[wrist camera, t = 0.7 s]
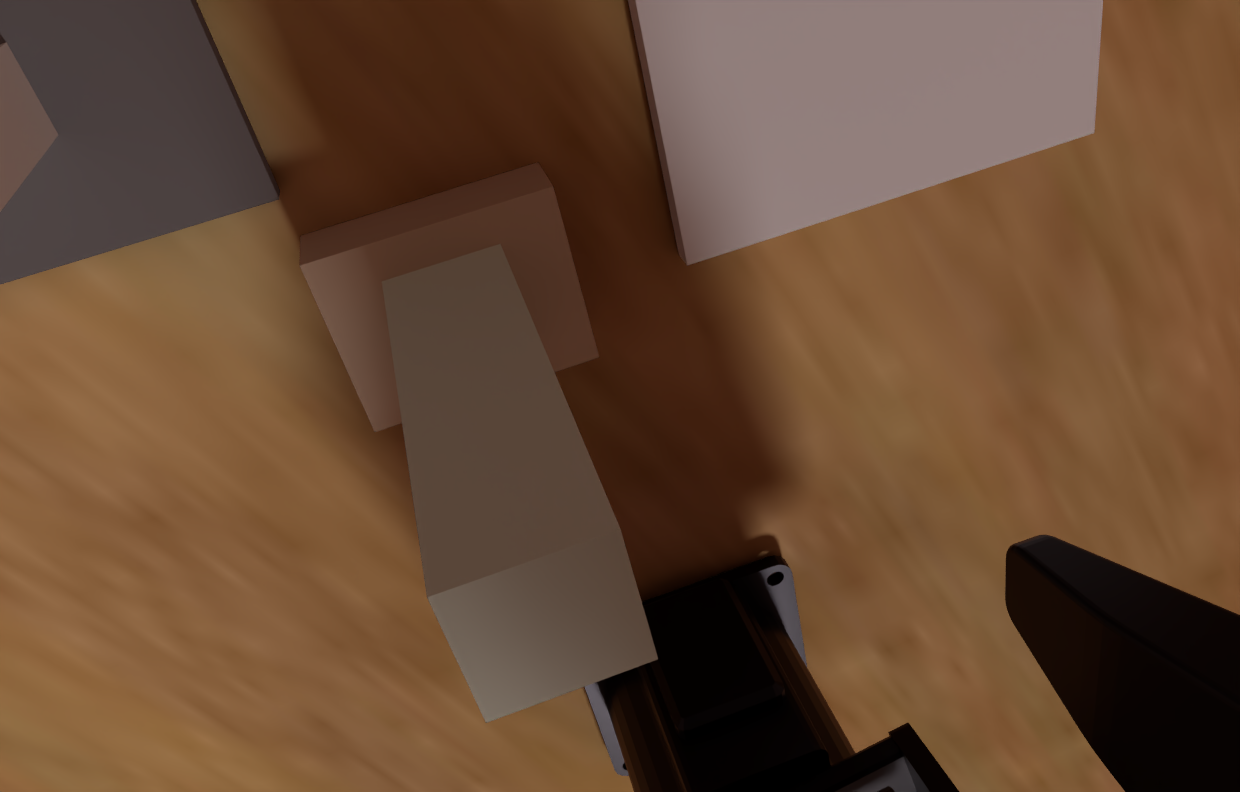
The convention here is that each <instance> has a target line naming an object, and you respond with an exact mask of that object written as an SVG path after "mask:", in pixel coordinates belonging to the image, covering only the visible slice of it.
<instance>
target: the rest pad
mask: <svg viewBox="0 0 1240 792" xmlns="http://www.w3.org/2000/svg"><path fill="white" fill-rule="evenodd" d="M628 3H629V8H630V13H631V18H632V23H633V28H634V33H635V38H636V43H637V48H638V53H639V58H640V63H641V68H642V73H643V78H644V83H645V88H646V93H647V98H648V103H649V108H650V113H651V118H652V123H653V128H654V133H655V138H656V143H657V148H658V153H659V158H660V163H661V168H662V173H663V178H664V183H665V188H666V193H667V198H668V203H669V208H670V213H671V218H672V223H673V228H674V233H675V238H676V243H677V248H678V253H679V256H680V257H681V258H682V259H683V261H684V262H685V263H686V264H687V266H688V265H691V264H694V263H697V262H700V261H703V260H706V259H709V258H712V257H715V256H718V255H721V254H725V253H728V252H731V251H734V250H737V249H740V248H743V247H746V246H749V245H752V244H755V243H758V242H761V241H764V240H767V239H771V238H774V237H777V236H780V235H783V234H786V233H789V232H792V231H795V230H798V229H801V228H804V227H807V226H810V225H813V224H817V223H820V222H823V221H826V220H829V219H832V218H835V217H838V216H841V215H844V214H847V213H850V212H853V211H856V210H859V209H863V208H866V207H869V206H872V205H875V204H878V203H881V202H884V201H887V200H890V199H893V198H896V197H899V196H902V195H905V194H908V193H912V192H915V191H918V190H921V189H924V188H927V187H930V186H933V185H936V184H939V183H942V182H945V181H948V180H951V179H954V178H958V177H961V176H964V175H967V174H970V173H973V172H976V171H979V170H982V169H985V168H988V167H991V166H994V165H997V164H1000V163H1004V162H1007V161H1010V160H1013V159H1016V158H1019V157H1022V156H1025V155H1028V154H1031V153H1034V152H1037V151H1040V150H1043V149H1046V148H1050V147H1053V146H1056V145H1059V144H1062V143H1065V142H1068V141H1071V140H1074V139H1077V138H1080V137H1083V136H1086V135H1089V134H1092V133H1094V128H1095V113H1096V98H1097V83H1098V68H1099V53H1100V38H1101V23H1102V8H1103V0H628Z"/></svg>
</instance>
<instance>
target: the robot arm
mask: <svg viewBox="0 0 1240 792" xmlns="http://www.w3.org/2000/svg"><path fill="white" fill-rule="evenodd" d="M774 572H776V573H775V574H773V575H772V576H770V574H772V573H774ZM1005 600H1006V606H1007V610H1008V613H1009V616H1010V618H1011V620H1012V622H1013V624H1014V625H1015V627H1016V628H1017V630H1018V632H1019V633H1020V635H1021V636H1022V638H1023V640H1024V641H1025V643H1026V644H1027V646H1028V648H1029V649H1030V651H1031V652H1032V654H1033V656H1034V657H1035V659H1036V660H1037V662H1038V664H1039V665H1040V667H1041V668H1042V670H1043V672H1044V673H1045V675H1046V676H1047V678H1048V680H1049V681H1050V683H1051V685H1052V686H1053V688H1054V689H1055V691H1056V693H1057V694H1058V696H1059V697H1060V699H1061V701H1062V702H1063V704H1064V705H1065V707H1066V709H1067V710H1068V712H1069V713H1070V715H1071V717H1072V718H1073V720H1074V721H1075V723H1076V725H1077V726H1078V728H1079V729H1080V731H1081V732H1082V734H1083V735H1084V737H1085V738H1086V740H1087V741H1088V743H1089V744H1090V746H1091V747H1092V749H1093V750H1094V751H1095V753H1096V754H1097V755H1098V757H1099V758H1100V759H1101V761H1102V762H1103V763H1104V765H1105V766H1106V768H1107V769H1108V770H1109V771H1110V773H1111V774H1112V775H1113V776H1114V778H1115V779H1116V780H1117V782H1118V783H1119V784H1120V785H1121V787H1122V788H1123V789H1124V791H1125V792H1240V615H1238V614H1236V613H1234V612H1231V611H1229V610H1226V609H1224V608H1222V607H1219V606H1217V605H1215V604H1212V603H1210V602H1207V601H1205V600H1203V599H1200V598H1198V597H1196V596H1193V595H1191V594H1188V593H1186V592H1184V591H1181V590H1179V589H1177V588H1174V587H1172V586H1170V585H1167V584H1165V583H1162V582H1160V581H1158V580H1155V579H1153V578H1151V577H1148V576H1146V575H1143V574H1141V573H1139V572H1136V571H1134V570H1132V569H1129V568H1127V567H1124V566H1122V565H1120V564H1117V563H1115V562H1113V561H1110V560H1108V559H1105V558H1103V557H1101V556H1098V555H1096V554H1094V553H1091V552H1089V551H1086V550H1084V549H1082V548H1079V547H1077V546H1075V545H1072V544H1070V543H1067V542H1065V541H1063V540H1060V539H1058V538H1056V537H1053V536H1049V535H1038V536H1035V537H1032V538H1029V539H1027V540H1024V541H1021V542H1018V543H1015V544H1013V545H1011V546H1010V547H1009V549H1008V551H1007V554H1006V589H1005ZM642 605H643V608H644V612H645V615H646V619H647V622H648V625H649V629H650V632H651V636H652V639H653V643H654V646H655V650H656V653H657V656H658V660H655V661H652V662H649V663H647V664H644V665H641V666H639V667H636V668H633V669H631V670H628V671H625V672H622V673H620V674H617V675H614V676H612V677H609V678H606V679H603V680H601V681H598V682H595V683H593V684H590V685H587V686H585V690H586V692H587V695H588V698H589V701H590V703H591V706H592V709H593V711H594V714H595V717H596V720H597V722H598V725H599V728H600V731H601V733H602V736H603V739H604V742H605V744H606V747H607V750H608V753H609V755H610V758H611V761H612V763H613V766H614V769H615V771H616V772H617V774H619V775H622V776H629V777H630V780H631V783H632V787H633V790H634V792H959V791H958V789H957V788H956V787H955V785H954V784H953V783H952V781H951V780H950V778H949V777H948V776H947V774H946V773H945V772H944V770H943V769H942V768H941V766H940V765H939V764H938V762H937V761H936V759H935V758H934V757H933V755H932V754H931V753H930V751H929V750H928V749H927V747H926V746H925V744H924V743H923V742H922V740H921V739H920V738H919V736H918V735H917V734H916V732H915V731H914V730H913V728H912V727H911V725H910V724H909V723H906V724H904V725H902V726H900V727H898V728H896V729H894V730H892V731H890V732H888V733H889V737H887V738H885V739H883V740H881V741H879V742H877V743H875V744H873V745H871V746H869V747H867V748H865V749H863V750H861V751H859V752H858V753H855V751H854V750H853V748H852V746H851V744H850V743H849V741H848V739H847V737H846V736H845V734H844V732H843V730H842V728H841V727H840V725H839V723H838V721H837V720H836V718H835V716H834V714H833V713H832V711H831V709H830V707H829V706H828V704H827V702H826V700H825V698H824V697H823V695H822V693H821V691H820V690H819V688H818V686H817V684H816V683H815V681H814V679H813V677H812V676H811V674H810V672H809V670H808V669H807V664H806V657H805V651H804V645H803V639H802V632H801V626H800V620H799V613H798V607H797V601H796V595H795V588H794V582H793V576H792V572H791V569H790V568H789V566H788V564H787V563H786V561H785V559H783V558H782V557H780V556H769V557H766V558H763V559H760V560H758V561H755V562H752V563H749V564H747V565H744V566H741V567H738V568H736V569H733V570H730V571H727V572H724V573H722V574H719V575H716V576H713V577H711V578H708V579H705V580H702V581H700V582H697V583H694V584H691V585H689V586H686V587H683V588H680V589H678V590H675V591H672V592H669V593H666V594H664V595H661V596H658V597H655V598H653V599H650V600H647V601H644V602H642Z"/></svg>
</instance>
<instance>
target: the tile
mask: <svg viewBox="0 0 1240 792" xmlns="http://www.w3.org/2000/svg"><path fill="white" fill-rule="evenodd" d="M57 136H58V133H57V131H56V130H55V128H54V126H53V124H52V123H51V121H50V119H49V117H48V115H47V114H46V112H45V110H44V108H43V107H42V105H41V103H40V101H39V99H38V98H37V96H36V94H35V92H34V90H33V89H32V87H31V85H30V83H29V82H28V80H27V78H26V76H25V74H24V73H23V71H22V69H21V67H20V66H19V64H18V62H17V60H16V58H15V57H14V55H13V53H12V51H11V50H10V48H9V46H8V44H7V42H6V43H2V44H0V212H1V210H2V209H3V208H4V207H5V205H6V204H7V203H8V201H9V200H10V199H11V197H12V196H13V195H14V193H15V192H16V191H17V189H18V188H19V187H20V185H21V184H22V183H23V181H24V180H25V179H26V177H27V176H28V175H29V173H30V172H31V171H32V169H33V168H34V167H35V165H36V164H37V163H38V161H39V160H40V159H41V158H42V156H43V155H44V154H45V152H46V151H47V150H48V148H49V147H50V146H51V144H52V143H53V142H54V140H55V139H56V138H57Z"/></svg>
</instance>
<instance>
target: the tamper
mask: <svg viewBox="0 0 1240 792" xmlns="http://www.w3.org/2000/svg"><path fill="white" fill-rule="evenodd" d="M300 268H301V270H302V272H303V274H304V277H305V279H306V281H307V283H308V286H309V288H310V290H311V292H312V294H313V297H314V299H315V301H316V303H317V305H318V308H319V310H320V312H321V314H322V316H323V319H324V321H325V323H326V325H327V328H328V330H329V332H330V334H331V336H332V339H333V341H334V343H335V345H336V347H337V350H338V352H339V354H340V356H341V359H342V361H343V363H344V365H345V367H346V370H347V372H348V374H349V376H350V378H351V381H352V383H353V385H354V387H355V390H356V392H357V394H358V396H359V398H360V401H361V403H362V405H363V407H364V409H365V412H366V414H367V416H368V418H369V420H370V423H371V425H372V427H373V429H374V432H377V431H380V430H383V429H386V428H389V427H392V426H395V425H398V424H401V423H402V426H403V433H404V440H405V447H406V454H407V461H408V468H409V475H410V482H411V489H412V496H413V503H414V510H415V517H416V524H417V531H418V538H419V545H420V552H421V558H422V565H423V572H424V579H425V586H426V593H427V598H428V600H429V602H430V605H431V607H432V609H433V611H434V613H435V615H436V617H437V619H438V622H439V624H440V626H441V628H442V630H443V632H444V634H445V636H446V639H447V641H448V643H449V645H450V647H451V649H452V651H453V653H454V656H455V658H456V660H457V662H458V664H459V666H460V668H461V670H462V673H463V675H464V677H465V679H466V681H467V683H468V685H469V687H470V690H471V692H472V694H473V696H474V698H475V700H476V702H477V704H478V707H479V709H480V711H481V713H482V715H483V717H484V719H485V721H486V723H487V722H490V721H493V720H495V719H498V718H501V717H503V716H506V715H509V714H512V713H514V712H517V711H520V710H522V709H525V708H528V707H530V706H533V705H536V704H539V703H541V702H544V701H547V700H549V699H552V698H555V697H557V696H560V695H563V694H566V693H568V692H571V691H574V690H576V689H579V688H582V687H585V686H587V685H590V684H593V683H595V682H598V681H601V680H603V679H606V678H609V677H612V676H614V675H617V674H620V673H622V672H625V671H628V670H631V669H633V668H636V667H639V666H641V665H644V664H647V663H649V662H652V661H655V660H658V656H657V653H656V650H655V646H654V643H653V639H652V636H651V632H650V629H649V625H648V622H647V619H646V615H645V612H644V608H643V605H642V601H641V598H640V594H639V591H638V588H637V584H636V581H635V577H634V574H633V570H632V567H631V563H630V560H629V557H628V553H627V550H626V546H625V543H624V539H623V536H622V533H621V529H620V527H619V524H618V522H617V520H616V517H615V515H614V512H613V510H612V508H611V505H610V503H609V501H608V498H607V496H606V493H605V491H604V489H603V486H602V484H601V482H600V479H599V477H598V474H597V472H596V470H595V467H594V465H593V463H592V460H591V458H590V455H589V453H588V451H587V448H586V446H585V444H584V441H583V439H582V436H581V434H580V432H579V429H578V427H577V425H576V422H575V420H574V417H573V415H572V413H571V410H570V408H569V406H568V403H567V401H566V398H565V396H564V394H563V391H562V389H561V387H560V384H559V382H558V379H557V377H556V375H555V372H557V371H560V370H563V369H566V368H569V367H572V366H575V365H578V364H581V363H584V362H587V361H590V360H593V359H596V358H599V354H598V350H597V347H596V343H595V339H594V335H593V332H592V328H591V324H590V321H589V317H588V313H587V309H586V306H585V302H584V298H583V295H582V291H581V287H580V284H579V280H578V276H577V272H576V269H575V265H574V261H573V258H572V254H571V250H570V247H569V243H568V239H567V235H566V232H565V228H564V224H563V221H562V217H561V213H560V210H559V206H558V202H557V198H556V195H555V191H554V187H553V185H552V184H551V182H550V180H549V179H548V177H547V175H546V174H545V172H544V171H543V169H542V167H541V166H540V164H539V163H538V162H537V163H534V164H531V165H528V166H524V167H521V168H518V169H515V170H511V171H508V172H505V173H502V174H498V175H495V176H492V177H489V178H486V179H482V180H479V181H476V182H473V183H469V184H466V185H463V186H460V187H457V188H453V189H450V190H447V191H444V192H440V193H437V194H434V195H431V196H427V197H424V198H421V199H418V200H415V201H411V202H408V203H405V204H402V205H398V206H395V207H392V208H389V209H386V210H382V211H379V212H376V213H373V214H369V215H366V216H363V217H360V218H356V219H353V220H350V221H347V222H344V223H340V224H337V225H334V226H331V227H327V228H324V229H321V230H318V231H315V232H311V233H308V234H305V235H302V236H300Z"/></svg>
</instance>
